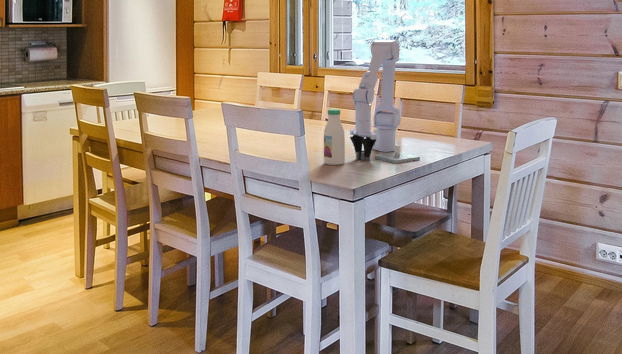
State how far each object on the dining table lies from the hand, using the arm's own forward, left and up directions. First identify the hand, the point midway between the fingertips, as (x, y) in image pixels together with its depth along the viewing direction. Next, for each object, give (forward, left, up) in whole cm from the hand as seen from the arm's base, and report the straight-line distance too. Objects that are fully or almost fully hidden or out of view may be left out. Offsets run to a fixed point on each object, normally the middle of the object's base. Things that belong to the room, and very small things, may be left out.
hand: (362, 155), depth 245 cm
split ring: (0, 0, -1) cm, 1 cm away
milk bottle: (0, -13, -2) cm, 13 cm away
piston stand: (+7, +11, -1) cm, 13 cm away
